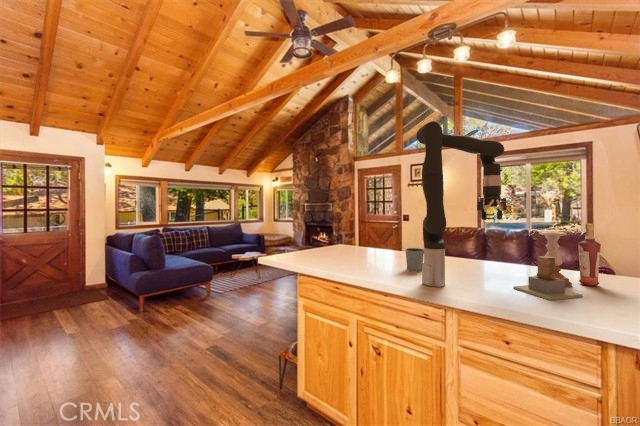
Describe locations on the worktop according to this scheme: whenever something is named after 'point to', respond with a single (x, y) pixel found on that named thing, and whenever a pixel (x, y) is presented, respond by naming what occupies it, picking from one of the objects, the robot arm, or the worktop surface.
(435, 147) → the robot arm
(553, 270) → the wooden peg
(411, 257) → the grey-green tapered pot
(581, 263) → the liquor
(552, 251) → the candle holder
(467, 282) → the worktop surface
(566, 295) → the box on flat tray
